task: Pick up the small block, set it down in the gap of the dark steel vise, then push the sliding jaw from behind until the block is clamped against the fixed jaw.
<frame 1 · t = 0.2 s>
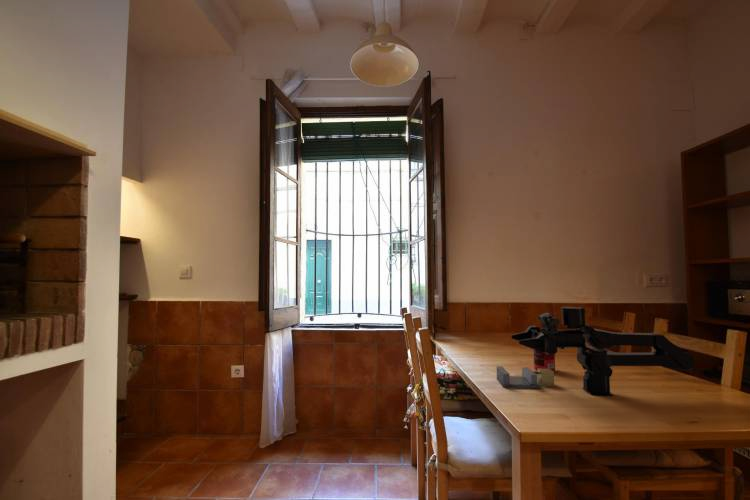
hand: (515, 339, 121), 16 cm above the table, tool horizontal, fingers open, 9 cm apart
vise base: (517, 383, 126), on the table
block: (546, 384, 125), on the table
canned food: (544, 370, 145), on the table
jaw: (533, 375, 126), point 3 cm above the table, slide at 0.0 cm
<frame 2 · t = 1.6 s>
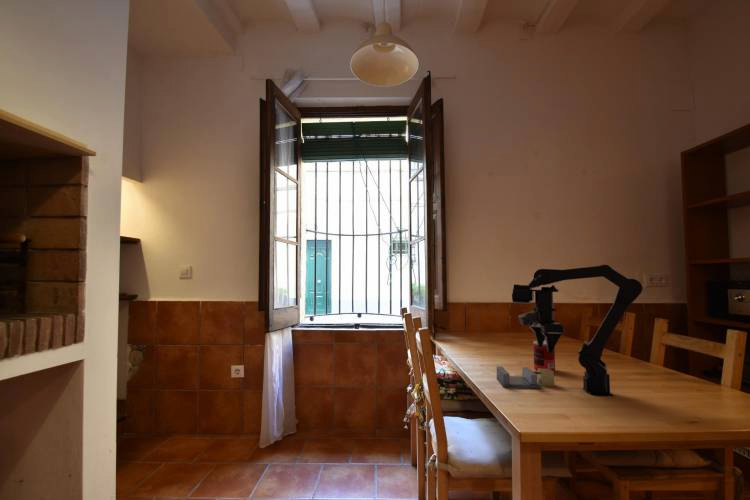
hand: (544, 349, 126), 12 cm above the table, tool pointing down, fingers open, 9 cm apart
nothing on the table moved.
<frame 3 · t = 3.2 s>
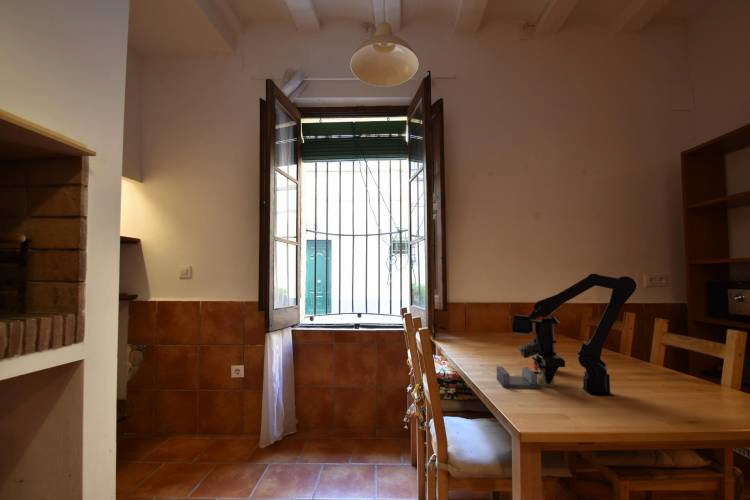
hand: (546, 381, 126), 1 cm above the table, tool pointing down, fingers closed on block, 4 cm apart
block: (546, 384, 125), on the table, touching gripper
everything else where it was.
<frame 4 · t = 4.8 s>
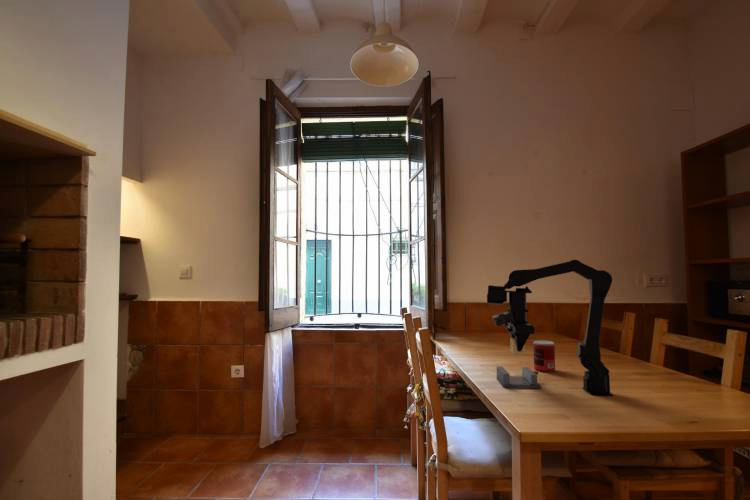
hand: (517, 350, 127), 12 cm above the table, tool pointing down, fingers closed on block, 4 cm apart
block: (517, 353, 127), point 11 cm above the table, touching gripper
everything else where it was.
when the fingers open (3 cm above the table, at t = 6.6 s): block drops 1 cm, resting on vise base.
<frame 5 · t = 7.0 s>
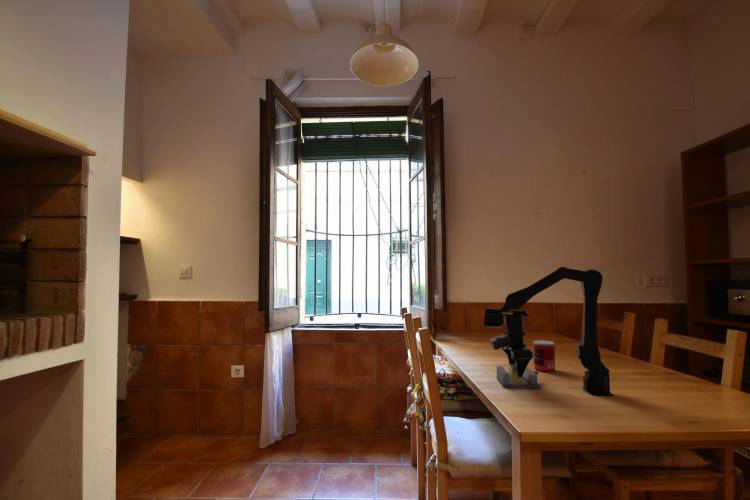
hand: (516, 373, 127), 3 cm above the table, tool pointing down, fingers open, 9 cm apart
block: (516, 380, 127), point 1 cm above the table, touching vise base
everything else where it was.
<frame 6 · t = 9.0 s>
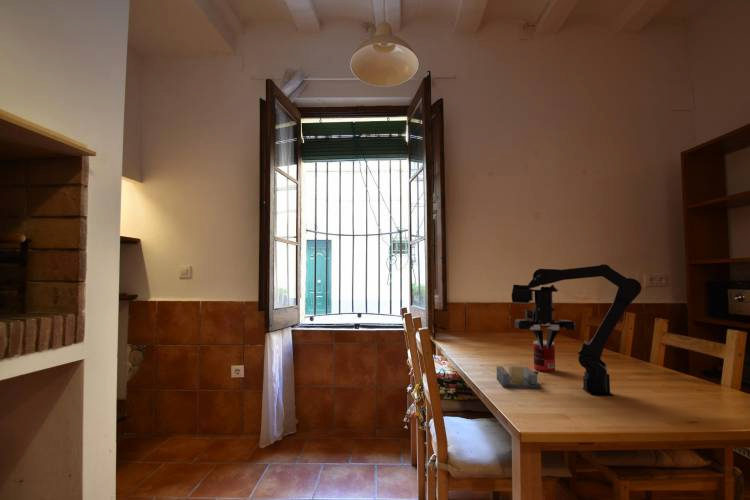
hand: (544, 349, 126), 12 cm above the table, tool pointing down, fingers closed
nothing on the table moved.
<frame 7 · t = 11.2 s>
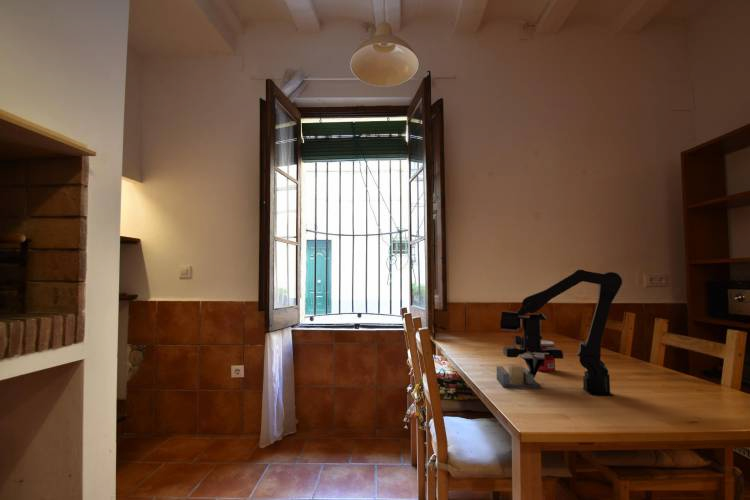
hand: (533, 377, 126), 2 cm above the table, tool pointing down, fingers closed
jaw: (530, 375, 126), point 3 cm above the table, slide at 1.2 cm, touching gripper
everything else where it was.
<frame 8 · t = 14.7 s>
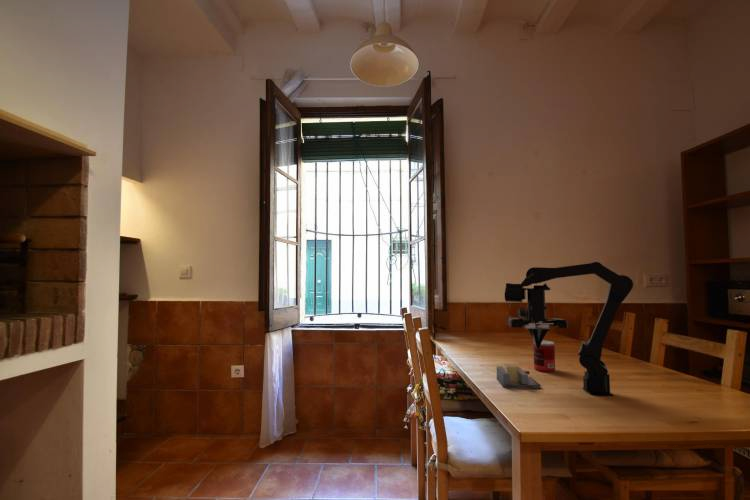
hand: (537, 347, 127), 12 cm above the table, tool pointing down, fingers closed
block: (511, 380, 127), point 1 cm above the table, touching vise base
jaw: (524, 375, 126), point 3 cm above the table, slide at 3.0 cm
everything else where it was.
at the end: jaw slide at 3.0 cm; block 0.0 cm from the target spot on the vise base, point 1.2 cm above the vise base's base; block tilted 0° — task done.
